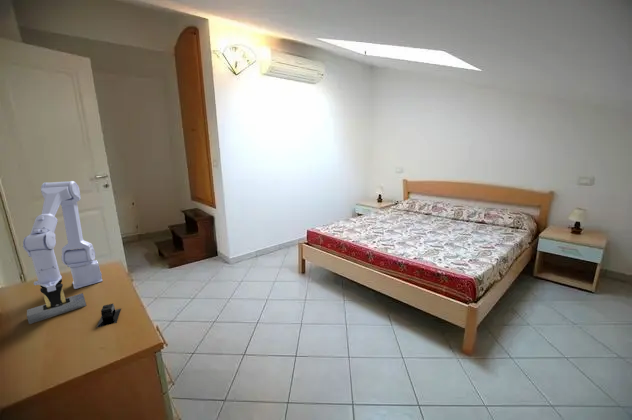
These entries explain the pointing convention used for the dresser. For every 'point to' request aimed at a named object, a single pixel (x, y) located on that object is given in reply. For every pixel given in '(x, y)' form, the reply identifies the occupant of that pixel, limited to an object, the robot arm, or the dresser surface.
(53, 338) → the dresser surface
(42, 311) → the rail
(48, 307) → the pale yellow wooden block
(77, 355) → the dresser surface
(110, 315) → the black mounted block
